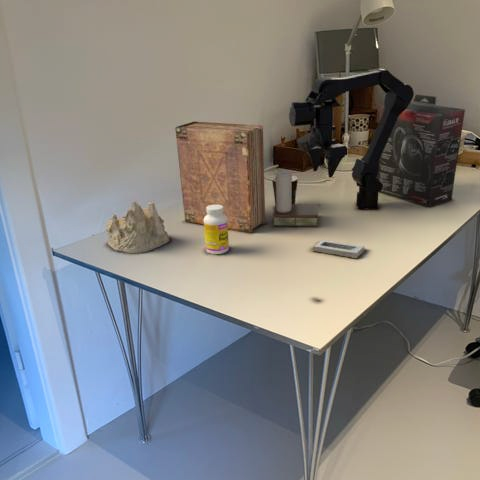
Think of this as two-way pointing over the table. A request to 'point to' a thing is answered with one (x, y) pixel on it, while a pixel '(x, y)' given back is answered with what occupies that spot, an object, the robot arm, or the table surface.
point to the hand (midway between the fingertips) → (322, 174)
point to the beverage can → (283, 191)
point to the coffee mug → (294, 188)
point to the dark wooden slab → (298, 216)
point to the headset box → (422, 153)
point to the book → (222, 172)
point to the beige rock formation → (137, 230)
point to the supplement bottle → (216, 230)
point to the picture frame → (350, 252)
